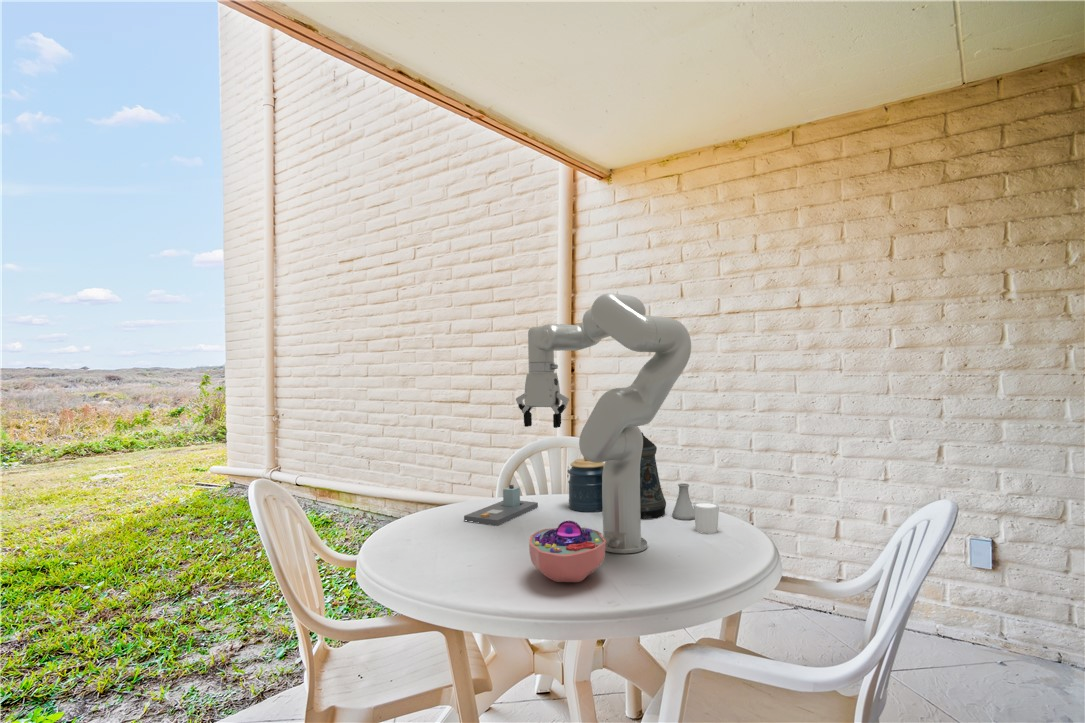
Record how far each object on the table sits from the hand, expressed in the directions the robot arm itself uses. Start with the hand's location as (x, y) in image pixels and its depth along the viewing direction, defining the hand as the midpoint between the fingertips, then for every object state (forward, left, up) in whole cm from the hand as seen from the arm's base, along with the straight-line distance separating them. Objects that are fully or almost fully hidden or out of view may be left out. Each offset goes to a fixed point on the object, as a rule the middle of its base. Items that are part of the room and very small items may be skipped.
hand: (542, 426), depth 163 cm
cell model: (-35, -25, -29) cm, 52 cm away
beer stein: (+22, -21, -28) cm, 42 cm away
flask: (+24, -35, -29) cm, 51 cm away
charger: (+10, +17, -28) cm, 34 cm away
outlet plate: (+4, +17, -28) cm, 33 cm away
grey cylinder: (+13, -44, -28) cm, 54 cm away
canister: (+23, -4, -28) cm, 37 cm away
